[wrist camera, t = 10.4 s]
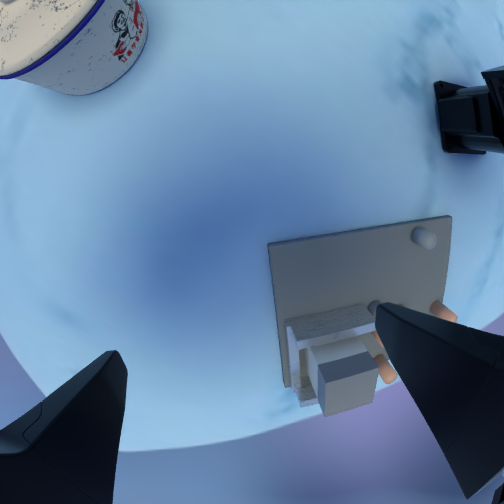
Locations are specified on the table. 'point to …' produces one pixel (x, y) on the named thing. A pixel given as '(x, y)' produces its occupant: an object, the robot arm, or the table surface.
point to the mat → (358, 274)
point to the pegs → (436, 308)
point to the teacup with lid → (70, 42)
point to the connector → (341, 375)
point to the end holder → (321, 340)
